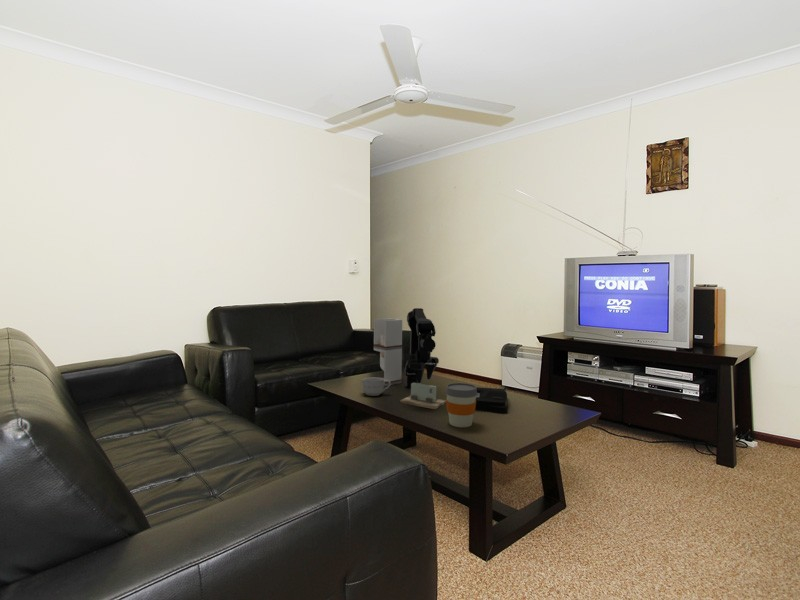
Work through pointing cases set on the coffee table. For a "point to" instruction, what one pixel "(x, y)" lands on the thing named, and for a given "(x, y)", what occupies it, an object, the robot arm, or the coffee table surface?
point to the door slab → (423, 391)
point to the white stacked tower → (389, 348)
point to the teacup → (374, 386)
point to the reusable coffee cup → (461, 403)
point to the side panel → (423, 402)
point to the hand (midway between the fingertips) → (423, 381)
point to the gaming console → (491, 400)
